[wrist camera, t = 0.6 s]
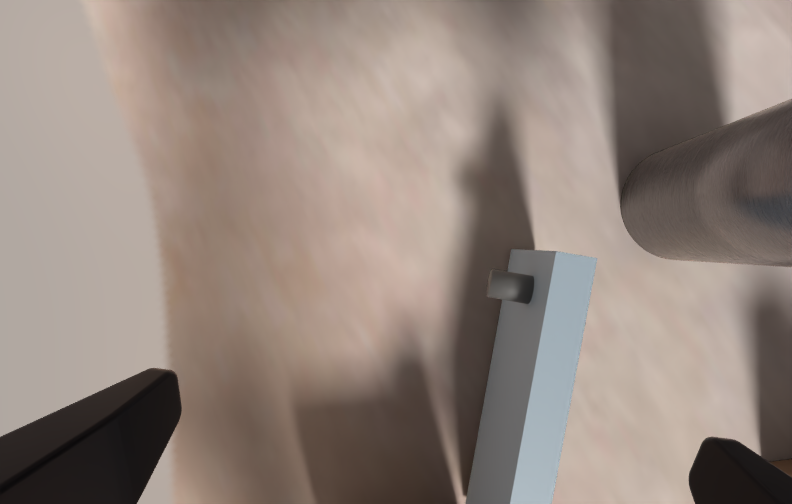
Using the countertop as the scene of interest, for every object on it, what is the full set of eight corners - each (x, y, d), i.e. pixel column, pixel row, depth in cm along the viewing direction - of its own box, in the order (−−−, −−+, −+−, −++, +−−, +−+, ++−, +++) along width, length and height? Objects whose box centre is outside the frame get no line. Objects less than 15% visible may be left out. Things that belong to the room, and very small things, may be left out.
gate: (491, 511, 20) (524, 649, 14) (434, 500, 21) (439, 630, 14) (538, 253, 20) (597, 258, 13) (480, 243, 20) (509, 242, 13)
